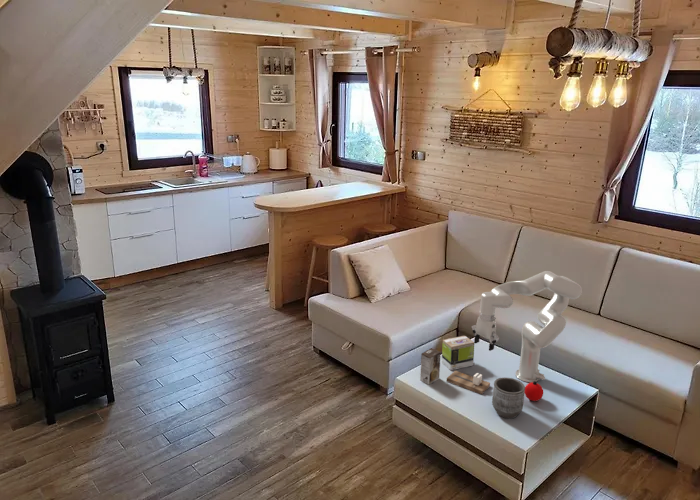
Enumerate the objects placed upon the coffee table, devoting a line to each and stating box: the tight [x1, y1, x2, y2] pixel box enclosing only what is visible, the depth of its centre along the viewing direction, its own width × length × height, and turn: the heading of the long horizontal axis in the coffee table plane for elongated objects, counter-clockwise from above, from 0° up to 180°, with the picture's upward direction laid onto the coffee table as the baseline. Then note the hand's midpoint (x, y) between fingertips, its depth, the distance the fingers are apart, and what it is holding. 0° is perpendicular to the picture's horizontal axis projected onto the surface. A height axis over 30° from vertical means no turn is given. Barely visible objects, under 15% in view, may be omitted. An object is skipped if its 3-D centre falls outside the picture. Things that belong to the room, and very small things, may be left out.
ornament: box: [524, 381, 544, 402], centre depth 260 cm, size 9×9×10 cm
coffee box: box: [419, 347, 442, 385], centre depth 276 cm, size 9×6×16 cm
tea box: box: [441, 335, 475, 371], centre depth 292 cm, size 15×10×15 cm
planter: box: [491, 377, 526, 419], centre depth 248 cm, size 14×14×15 cm
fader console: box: [446, 369, 491, 395], centre depth 274 cm, size 20×10×2 cm, turn 52°
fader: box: [472, 372, 483, 385], centre depth 270 cm, size 3×4×5 cm
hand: (483, 346), depth 270 cm, fingers open, 9 cm apart
